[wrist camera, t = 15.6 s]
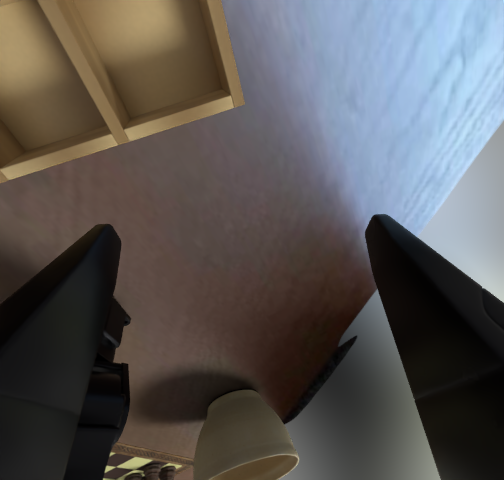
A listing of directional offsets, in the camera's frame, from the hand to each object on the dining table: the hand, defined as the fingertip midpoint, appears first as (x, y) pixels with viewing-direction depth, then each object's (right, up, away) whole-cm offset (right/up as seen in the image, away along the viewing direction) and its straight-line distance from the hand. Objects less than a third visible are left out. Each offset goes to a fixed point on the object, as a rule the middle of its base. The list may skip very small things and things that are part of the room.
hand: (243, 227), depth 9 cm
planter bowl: (-3, -30, +38) cm, 48 cm away
